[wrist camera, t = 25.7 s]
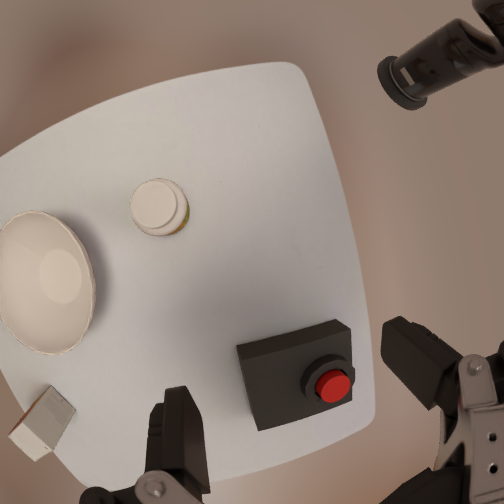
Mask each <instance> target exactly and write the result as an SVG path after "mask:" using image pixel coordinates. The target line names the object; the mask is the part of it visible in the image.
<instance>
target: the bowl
mask: <svg viewBox="0 0 504 504" xmlns="http://www.w3.org/2000/svg"><path fill="white" fill-rule="evenodd" d="M95 290H96V284H95V279H94V274H93V268H92V265H91V262H90V260H89V257H88V255H87V252H86V249H85V248H84V246H83V245H82V243H81V242H80V240H79V238H78V237H77V235H76V234H75V233H74V231H72V230H71V229H70V228H69V227H68V226H67V225H66V224H65V223H64V222H63V221H62V220H60V219H58V218H56V217H54V216H52V215H50V214H48V213H45V212H38V211H27V212H24V213H21V214H18V215H16V216H15V217H13V218H12V219H11V220H10V221H8V222H7V223H6V224H5V225H4V227H3V228H2V230H1V231H0V317H1V319H2V321H3V322H4V324H5V325H6V327H7V328H8V330H9V331H10V332H11V333H12V334H13V335H14V337H15V338H16V339H17V340H18V341H19V342H20V343H22V344H23V345H25V346H26V347H28V348H29V349H31V350H33V351H36V352H39V353H42V354H45V355H59V354H62V353H64V352H67V351H69V350H71V349H72V348H74V347H75V346H76V345H77V344H78V343H79V342H80V341H81V340H82V338H83V337H84V335H85V333H86V331H87V329H88V328H89V326H90V324H91V321H92V317H93V312H94V308H95Z"/></svg>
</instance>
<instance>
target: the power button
mask: <svg viewBox="0 0 504 504" xmlns="http://www.w3.org/2000/svg"><path fill="white" fill-rule="evenodd" d="M349 388H350V380H349V378H348V377H347V376H346V375H345V374H344V373H343V372H341V371H340V370H330V371H327V372H326V373H324V374H323V375H322V376H321V377H320V378H319V379H318V381H317V384H316V391H317V393H318V394H319V395H320V397H321V398H322V399H323V400H324V401H326V402H336V401H338V400H340V399H342V398H343V397H344V396H345V395H346V394H347V392H348V391H349Z"/></svg>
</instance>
